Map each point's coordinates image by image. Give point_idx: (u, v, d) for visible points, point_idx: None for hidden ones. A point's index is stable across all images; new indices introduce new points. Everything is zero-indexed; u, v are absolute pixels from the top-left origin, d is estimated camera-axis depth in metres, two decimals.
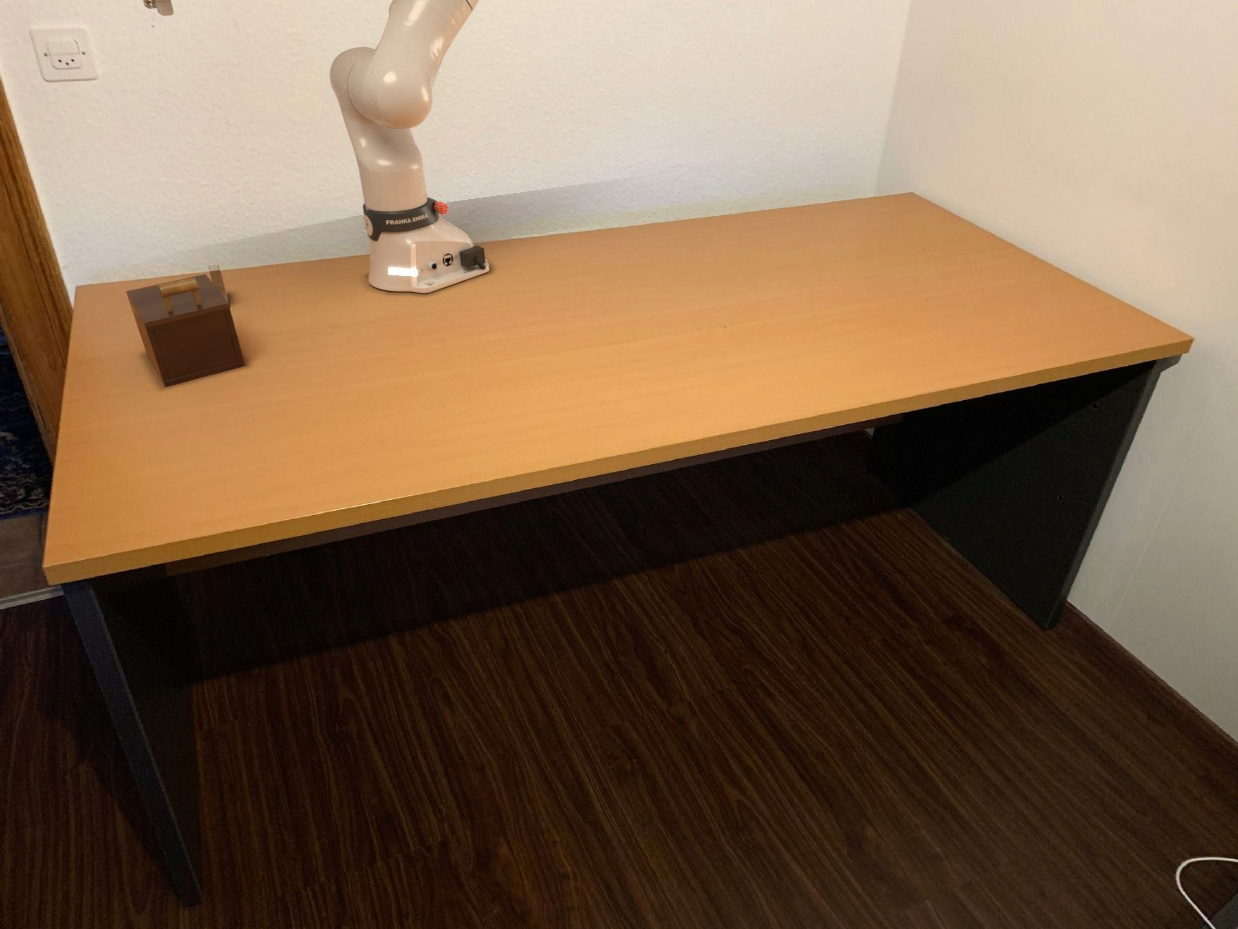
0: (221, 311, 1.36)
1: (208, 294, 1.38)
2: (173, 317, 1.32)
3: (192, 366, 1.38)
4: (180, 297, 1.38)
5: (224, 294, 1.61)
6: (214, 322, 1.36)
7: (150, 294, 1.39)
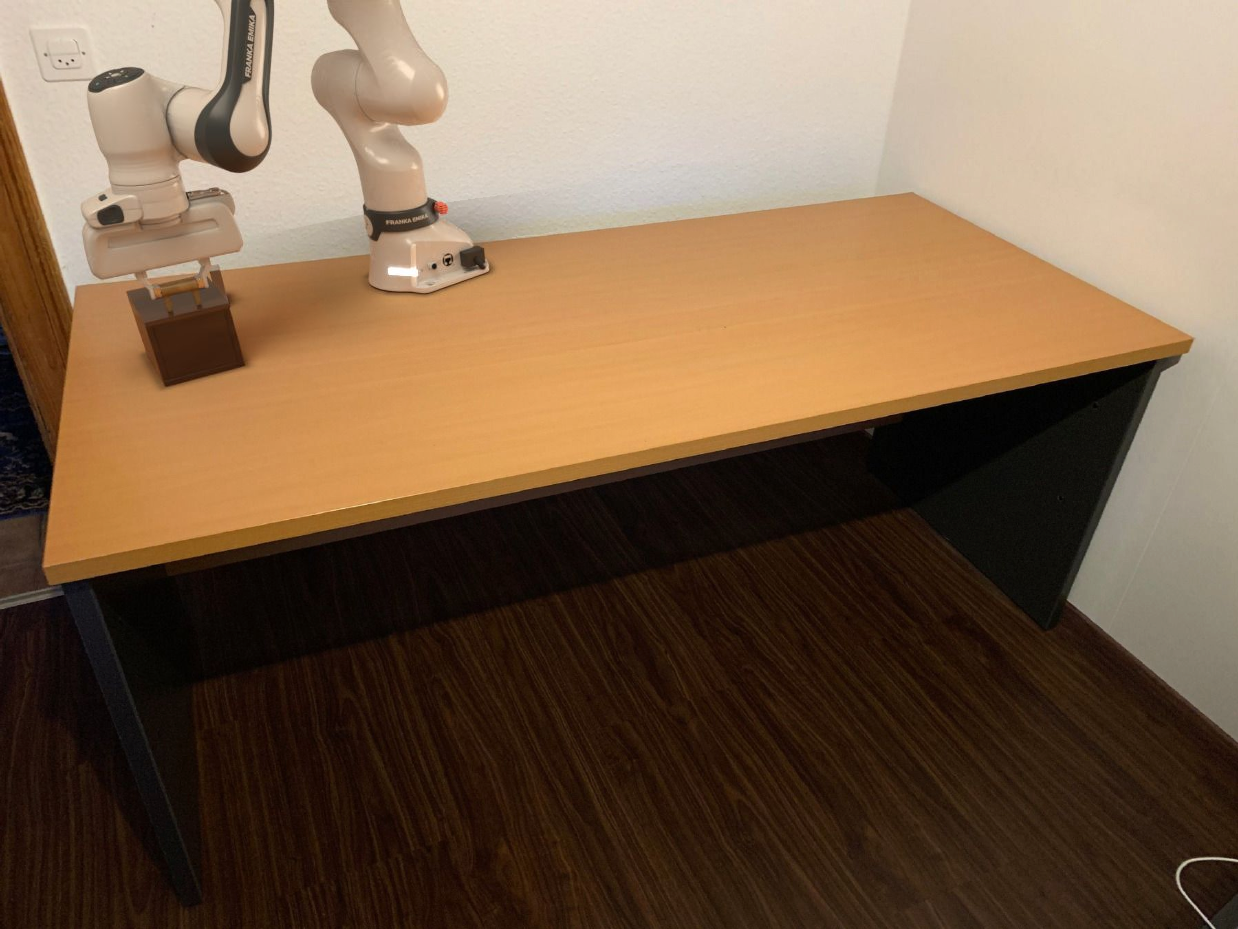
0: (221, 311, 1.36)
1: (208, 294, 1.38)
2: (173, 317, 1.32)
3: (192, 366, 1.38)
4: (180, 297, 1.38)
5: (224, 294, 1.61)
6: (214, 322, 1.36)
7: None
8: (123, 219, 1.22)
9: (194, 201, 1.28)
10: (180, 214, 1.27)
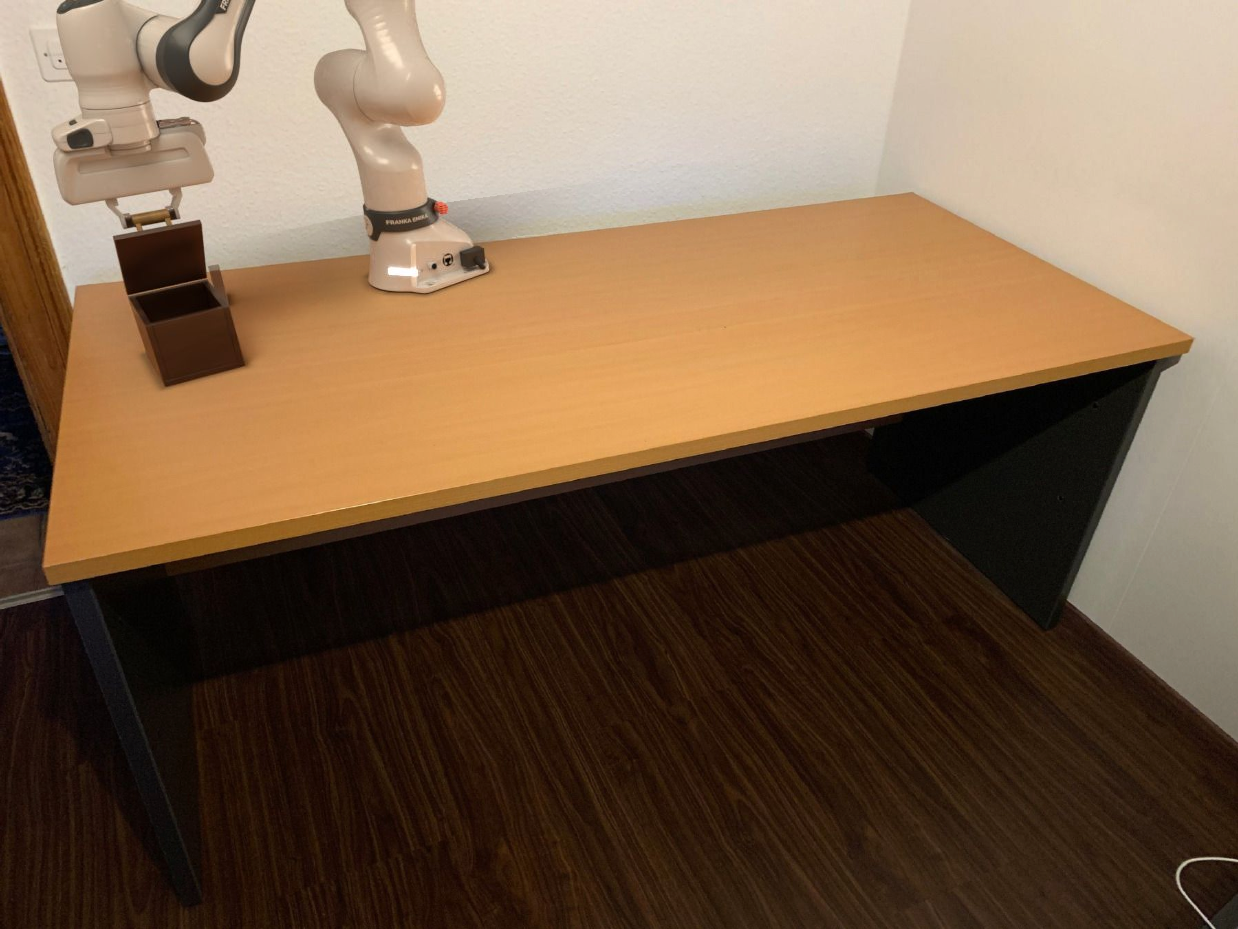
0: (221, 311, 1.36)
1: None
2: (142, 231, 1.30)
3: (192, 366, 1.38)
4: None
5: (224, 294, 1.61)
6: (214, 322, 1.36)
7: None
8: (93, 143, 1.23)
9: (165, 130, 1.30)
10: (150, 141, 1.28)
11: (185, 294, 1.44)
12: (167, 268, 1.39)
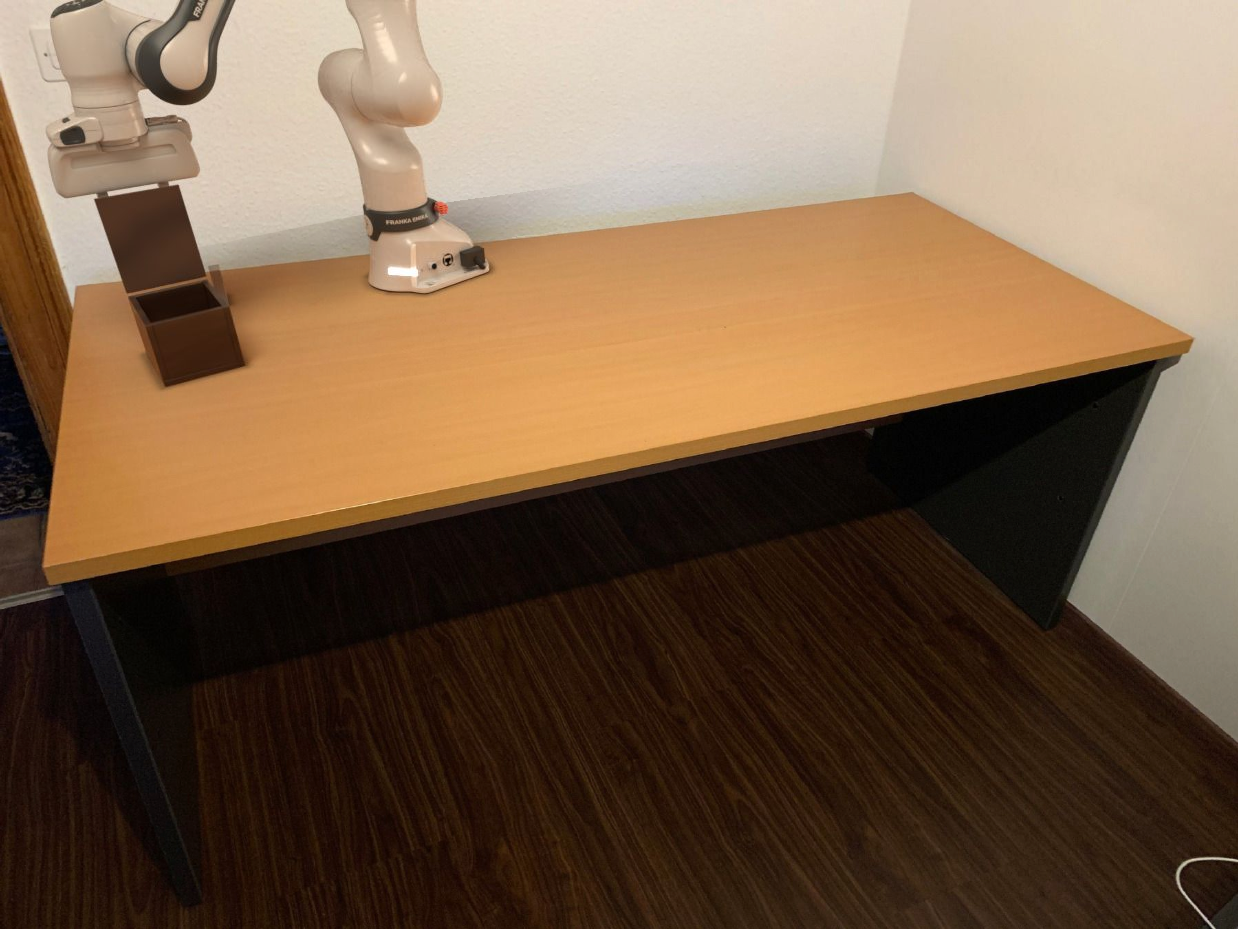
0: (221, 311, 1.36)
1: None
2: None
3: (192, 366, 1.38)
4: None
5: (224, 294, 1.61)
6: (214, 322, 1.36)
7: None
8: (84, 140, 1.31)
9: (153, 127, 1.38)
10: (139, 138, 1.36)
11: (185, 294, 1.44)
12: (159, 253, 1.41)
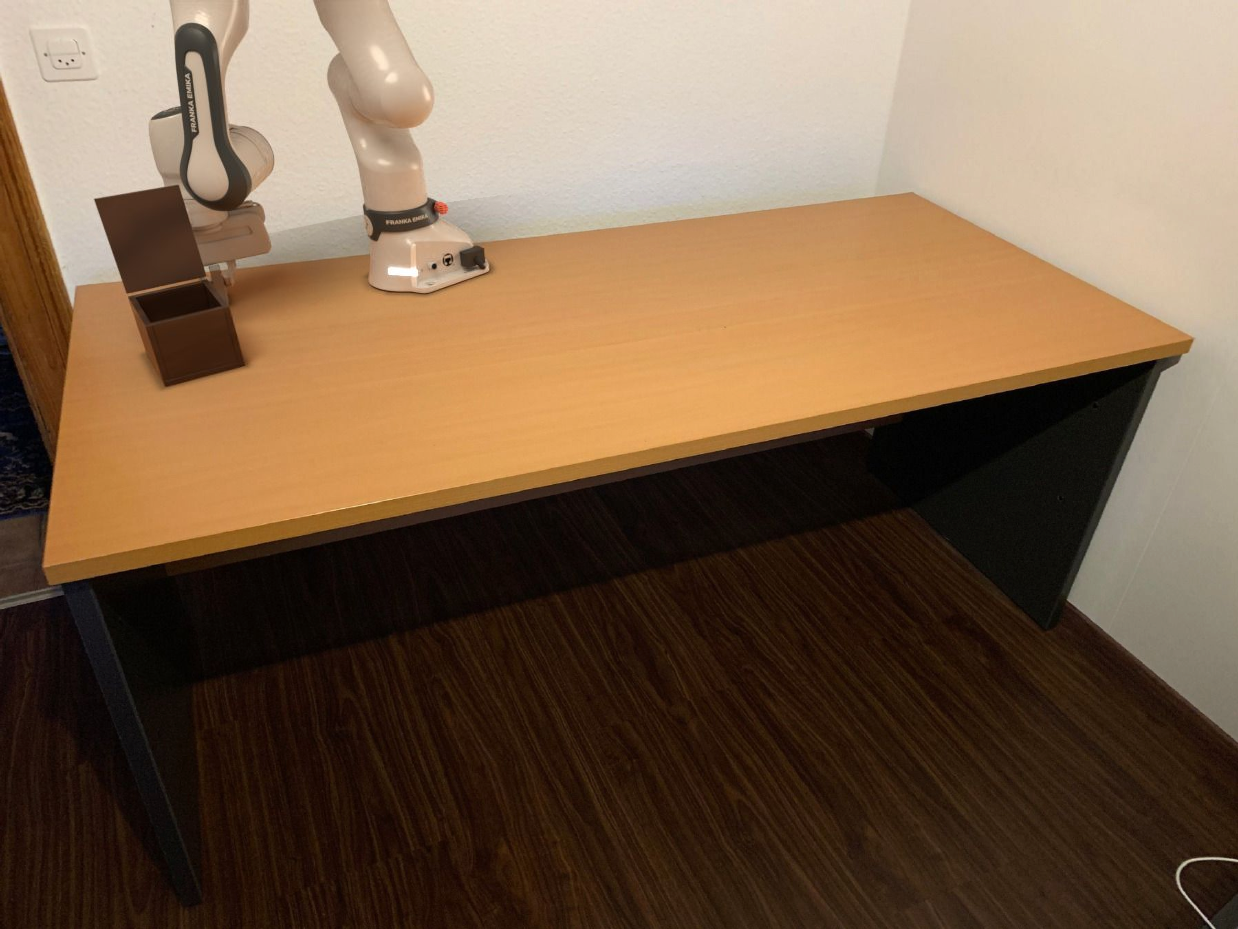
0: (221, 311, 1.36)
1: None
2: None
3: (192, 366, 1.38)
4: None
5: (224, 294, 1.61)
6: (214, 322, 1.36)
7: None
8: None
9: (232, 212, 1.56)
10: (221, 222, 1.54)
11: (185, 294, 1.44)
12: (159, 253, 1.41)
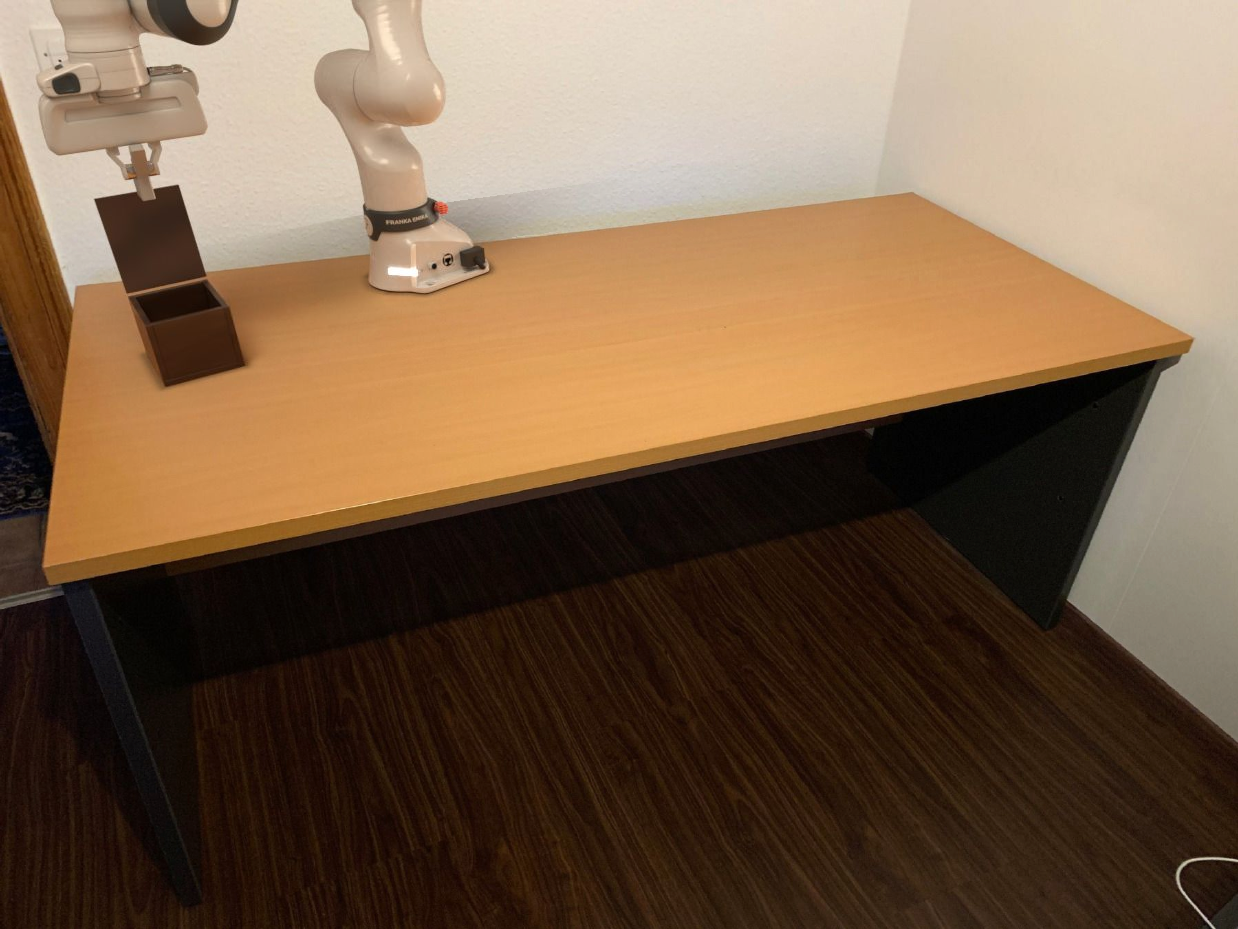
0: (221, 311, 1.36)
1: None
2: None
3: (192, 366, 1.38)
4: None
5: (149, 185, 1.29)
6: (214, 322, 1.36)
7: None
8: (79, 89, 1.17)
9: (156, 78, 1.24)
10: (140, 89, 1.22)
11: (185, 294, 1.44)
12: (159, 253, 1.41)
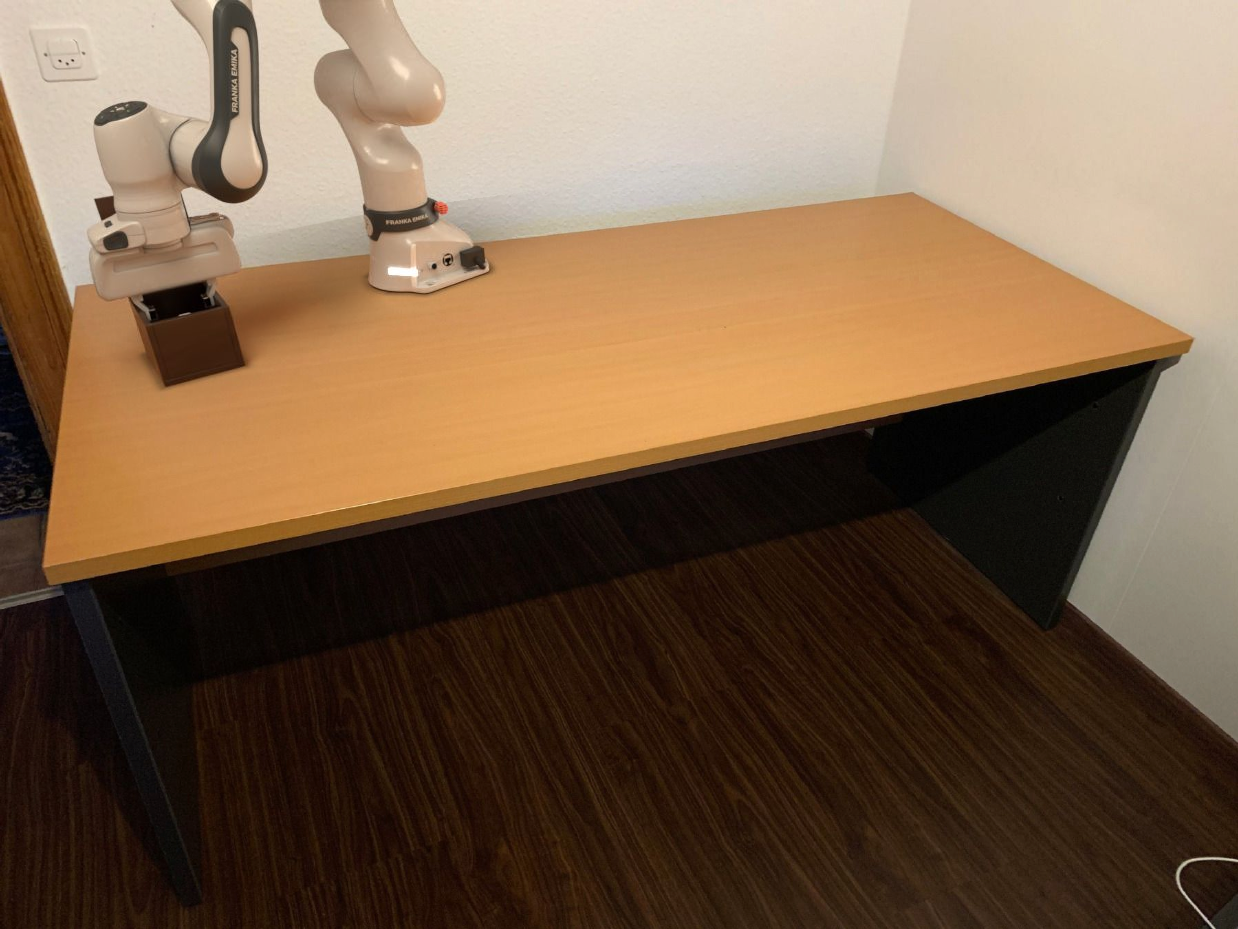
0: (221, 311, 1.36)
1: None
2: None
3: (192, 366, 1.38)
4: None
5: None
6: (214, 322, 1.36)
7: None
8: (128, 244, 1.28)
9: (195, 226, 1.35)
10: (182, 239, 1.33)
11: (185, 294, 1.44)
12: None
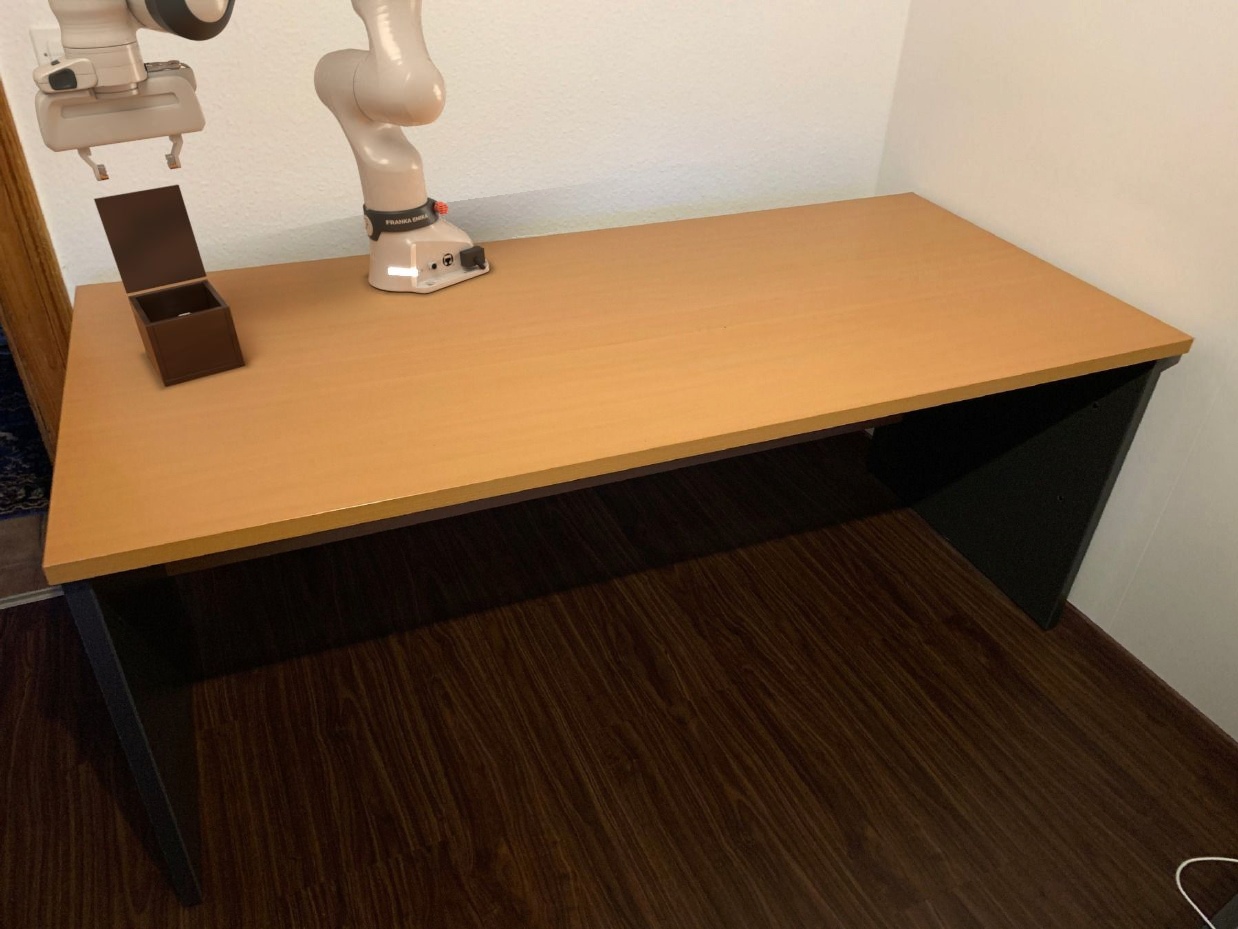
0: (221, 311, 1.36)
1: None
2: None
3: (192, 366, 1.38)
4: None
5: None
6: (214, 322, 1.36)
7: None
8: (76, 85, 1.16)
9: (153, 73, 1.23)
10: (138, 85, 1.22)
11: (185, 294, 1.44)
12: (159, 253, 1.41)
